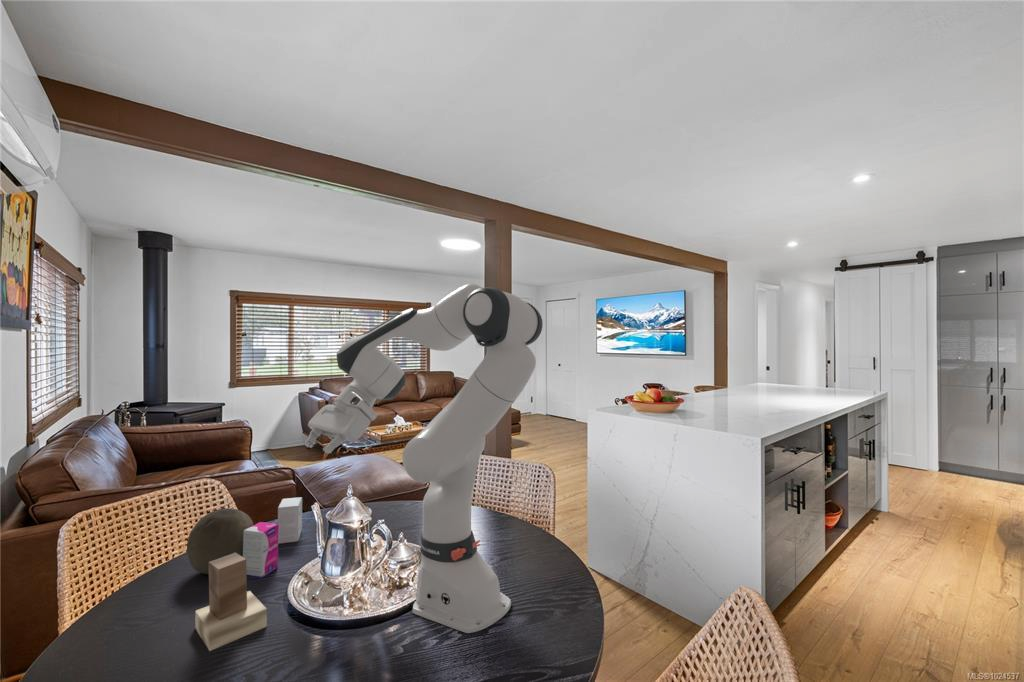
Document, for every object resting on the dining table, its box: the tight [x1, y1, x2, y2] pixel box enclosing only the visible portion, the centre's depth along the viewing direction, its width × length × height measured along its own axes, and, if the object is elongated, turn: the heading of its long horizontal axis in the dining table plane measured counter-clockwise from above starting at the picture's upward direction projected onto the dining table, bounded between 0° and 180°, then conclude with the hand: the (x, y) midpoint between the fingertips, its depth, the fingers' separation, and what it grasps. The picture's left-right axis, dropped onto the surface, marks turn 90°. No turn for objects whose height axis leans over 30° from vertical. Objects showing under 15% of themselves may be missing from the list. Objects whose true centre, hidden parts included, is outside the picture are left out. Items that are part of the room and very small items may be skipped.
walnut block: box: [208, 552, 248, 620], centre depth 92 cm, size 5×5×10 cm
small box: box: [277, 496, 303, 545], centre depth 134 cm, size 8×6×10 cm
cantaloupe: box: [186, 507, 254, 575], centre depth 115 cm, size 14×14×15 cm
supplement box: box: [243, 521, 279, 579], centre depth 114 cm, size 6×6×12 cm
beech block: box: [194, 590, 268, 652], centre depth 92 cm, size 10×10×4 cm
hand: (316, 448), depth 113 cm, fingers open, 8 cm apart
